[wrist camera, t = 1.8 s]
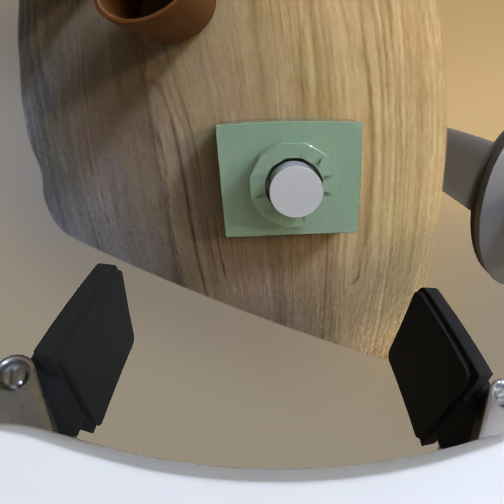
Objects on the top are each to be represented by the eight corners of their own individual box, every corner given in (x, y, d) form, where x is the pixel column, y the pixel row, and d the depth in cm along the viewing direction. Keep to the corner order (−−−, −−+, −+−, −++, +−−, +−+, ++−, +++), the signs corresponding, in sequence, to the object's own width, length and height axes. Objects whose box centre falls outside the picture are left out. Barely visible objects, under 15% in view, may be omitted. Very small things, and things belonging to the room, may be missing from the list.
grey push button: (318, 160, 23) (323, 165, 22) (318, 207, 25) (322, 217, 24) (267, 161, 24) (267, 167, 22) (269, 209, 26) (270, 218, 24)
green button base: (352, 119, 26) (369, 124, 21) (348, 219, 31) (362, 241, 26) (219, 122, 26) (211, 127, 22) (228, 223, 31) (223, 246, 27)
